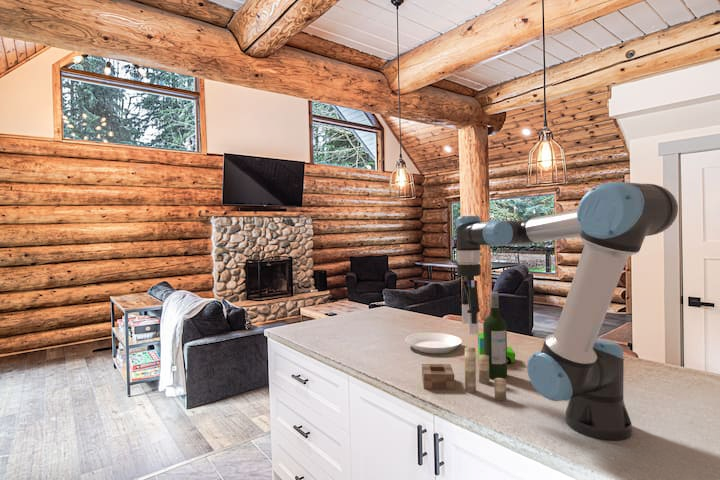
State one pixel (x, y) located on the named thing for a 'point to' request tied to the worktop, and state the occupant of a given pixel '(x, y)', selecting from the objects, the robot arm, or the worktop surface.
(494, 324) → the wine bottle
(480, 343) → the toy car
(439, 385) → the hole block
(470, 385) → the long dowel
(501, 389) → the short dowel
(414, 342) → the white plate
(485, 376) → the medium dowel
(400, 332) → the worktop surface
